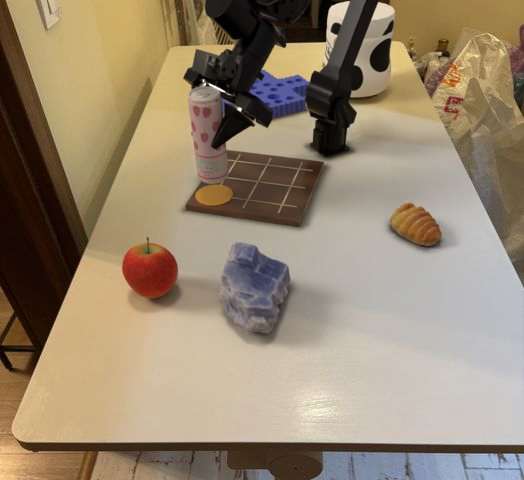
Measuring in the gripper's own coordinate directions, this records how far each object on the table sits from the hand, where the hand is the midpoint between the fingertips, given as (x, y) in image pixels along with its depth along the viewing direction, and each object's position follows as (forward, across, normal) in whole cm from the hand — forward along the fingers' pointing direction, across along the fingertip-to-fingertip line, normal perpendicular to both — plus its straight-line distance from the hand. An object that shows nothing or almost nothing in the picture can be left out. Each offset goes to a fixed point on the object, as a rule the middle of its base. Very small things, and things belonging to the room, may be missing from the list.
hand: (203, 142), depth 90 cm
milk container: (-32, -17, +50) cm, 62 cm away
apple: (+24, +15, -7) cm, 29 cm away
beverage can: (+4, 0, +6) cm, 7 cm away
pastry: (-6, +32, +24) cm, 40 cm away
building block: (-18, -30, +36) cm, 50 cm away
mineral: (+17, +28, 0) cm, 33 cm away
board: (+1, +2, +16) cm, 16 cm away
